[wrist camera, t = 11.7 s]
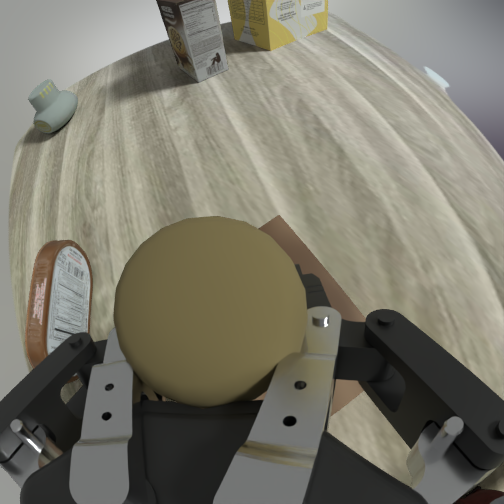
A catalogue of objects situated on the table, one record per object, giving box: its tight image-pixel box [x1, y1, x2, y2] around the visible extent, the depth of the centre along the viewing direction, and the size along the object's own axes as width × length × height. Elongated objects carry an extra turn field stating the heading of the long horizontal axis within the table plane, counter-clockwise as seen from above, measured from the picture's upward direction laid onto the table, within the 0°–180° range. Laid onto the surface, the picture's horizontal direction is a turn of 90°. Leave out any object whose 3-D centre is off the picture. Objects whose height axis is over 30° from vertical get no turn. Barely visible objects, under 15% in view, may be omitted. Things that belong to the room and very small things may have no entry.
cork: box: [114, 216, 308, 409], centre depth 11 cm, size 6×6×11 cm
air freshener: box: [28, 80, 78, 133], centre depth 39 cm, size 11×8×10 cm
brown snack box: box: [156, 0, 229, 82], centre depth 36 cm, size 9×6×16 cm
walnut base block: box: [177, 215, 366, 417], centre depth 23 cm, size 16×16×4 cm
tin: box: [25, 240, 93, 383], centre depth 24 cm, size 15×3×8 cm, turn 4°
